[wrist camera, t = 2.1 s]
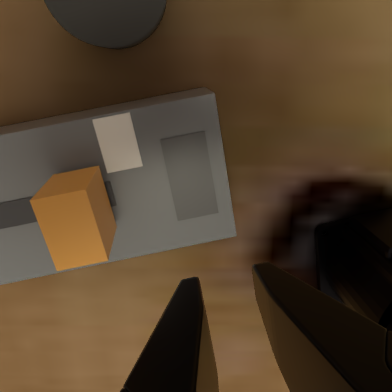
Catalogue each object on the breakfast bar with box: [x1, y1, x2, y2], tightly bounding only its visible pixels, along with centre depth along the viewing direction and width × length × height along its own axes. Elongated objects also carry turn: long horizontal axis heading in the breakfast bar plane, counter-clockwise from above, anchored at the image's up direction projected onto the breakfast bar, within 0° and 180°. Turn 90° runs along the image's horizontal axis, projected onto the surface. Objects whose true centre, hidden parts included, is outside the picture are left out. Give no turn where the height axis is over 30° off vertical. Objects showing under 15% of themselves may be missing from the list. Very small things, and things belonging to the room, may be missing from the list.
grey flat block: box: [0, 87, 237, 285], centre depth 18 cm, size 7×18×4 cm, turn 100°
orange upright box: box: [30, 166, 117, 271], centre depth 15 cm, size 3×2×3 cm, turn 10°
